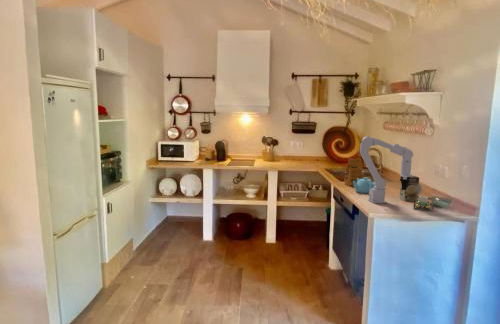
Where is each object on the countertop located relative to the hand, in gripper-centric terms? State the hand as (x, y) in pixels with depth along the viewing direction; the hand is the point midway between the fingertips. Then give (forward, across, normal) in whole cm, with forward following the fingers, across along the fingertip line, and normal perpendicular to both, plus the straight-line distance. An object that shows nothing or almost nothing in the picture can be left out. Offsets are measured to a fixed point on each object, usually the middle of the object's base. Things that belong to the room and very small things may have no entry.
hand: (404, 188), depth 211 cm
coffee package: (+10, +41, +38) cm, 57 cm away
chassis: (+10, -5, -11) cm, 16 cm away
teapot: (+10, +22, +27) cm, 36 cm away
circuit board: (+7, -5, -11) cm, 14 cm away
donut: (+10, +26, -6) cm, 29 cm away
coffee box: (+10, +12, -3) cm, 16 cm away
